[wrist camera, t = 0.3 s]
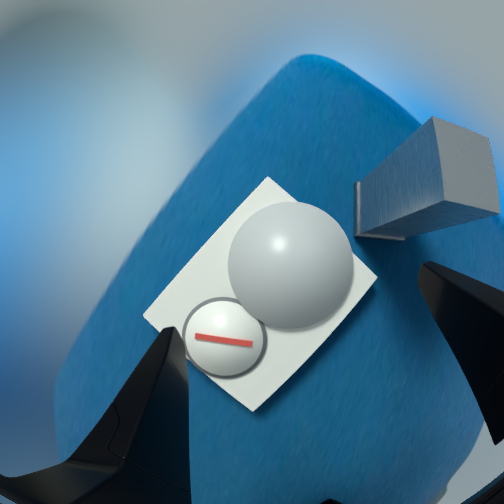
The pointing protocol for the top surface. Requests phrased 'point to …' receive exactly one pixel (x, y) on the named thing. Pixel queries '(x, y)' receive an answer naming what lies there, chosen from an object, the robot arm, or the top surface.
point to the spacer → (428, 184)
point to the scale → (263, 293)
